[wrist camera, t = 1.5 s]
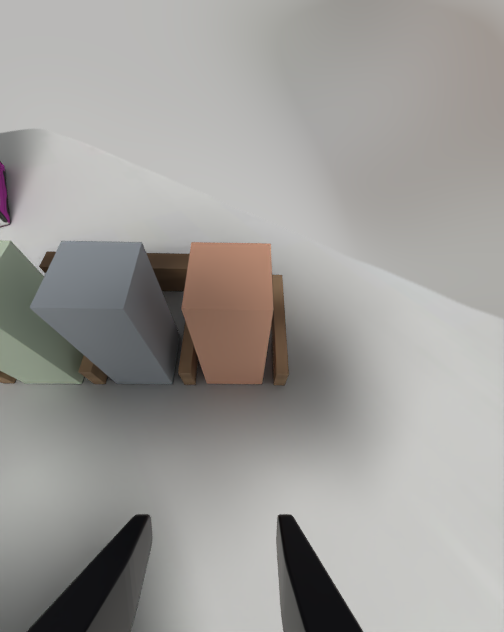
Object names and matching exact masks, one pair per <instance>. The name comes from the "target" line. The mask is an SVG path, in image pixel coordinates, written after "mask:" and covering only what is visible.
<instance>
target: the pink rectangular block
mask: <svg viewBox="0 0 504 632" xmlns="http://www.w3.org/2000/svg"><path fill="white" fill-rule="evenodd" d="M181 309H182V312H183V315H184V318H185V321H186V324H187V327H188V330H189V333H190V335H191V338H192V341H193V344H194V347H195V350H196V353H197V356H198V359H199V362H200V365H201V368H202V371H203V374H204V377H205V379H206V382H207V384H262V381H263V374H264V368H265V361H266V355H267V348H268V342H269V335H270V329H271V322H272V316H273V289H272V266H271V244H260V243H199V242H192V243H191V249H190V256H189V262H188V269H187V275H186V282H185V288H184V295H183V301H182V308H181Z"/></svg>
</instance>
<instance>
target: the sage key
mask: <svg viewBox="0 0 504 632" xmlns="http://www.w3.org/2000/svg"><path fill="white" fill-rule="evenodd" d="M43 278H44V276H43V275H42V274H41V273H40V272H39V271H38V270H37V269H36V268H35V267H34V265H33V264H32V263H31V262H30V261H29V260H28V259H27V258H26V257H25V256H24V255H23V253H22V252H21V251H20V250H19V249H18V248H17V247H16V246H15V245H14V244H13V243H12V242H11V241H0V371H2V372H4V373H6V374H8V375H10V376H12V377H14V378H15V379H17V380H19V381H21V382H23V383H25V384H82V382H83V379H84V376H83V375H82V374H80V373H79V372H78V371H79V368H80V365H81V362H82V359H83V356H84V355H83V354H82V353H81V352H80V351H79V350H77V349H76V348H75V347H74V346H73V345H72V344H71V343H69V342H68V341H67V340H66V339H65V338H64V337H63V336H61V335H60V334H59V333H58V332H57V331H56V330H54V329H53V328H52V327H51V326H50V325H49V324H48V323H46V322H45V321H44V320H43V319H42V318H41V317H40V316H38V315H37V314H36V313H35V312H34V311H33V310H31V309H30V305H31V303H32V301H33V299H34V297H35V295H36V293H37V291H38V289H39V287H40V285H41V283H42V281H43Z"/></svg>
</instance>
